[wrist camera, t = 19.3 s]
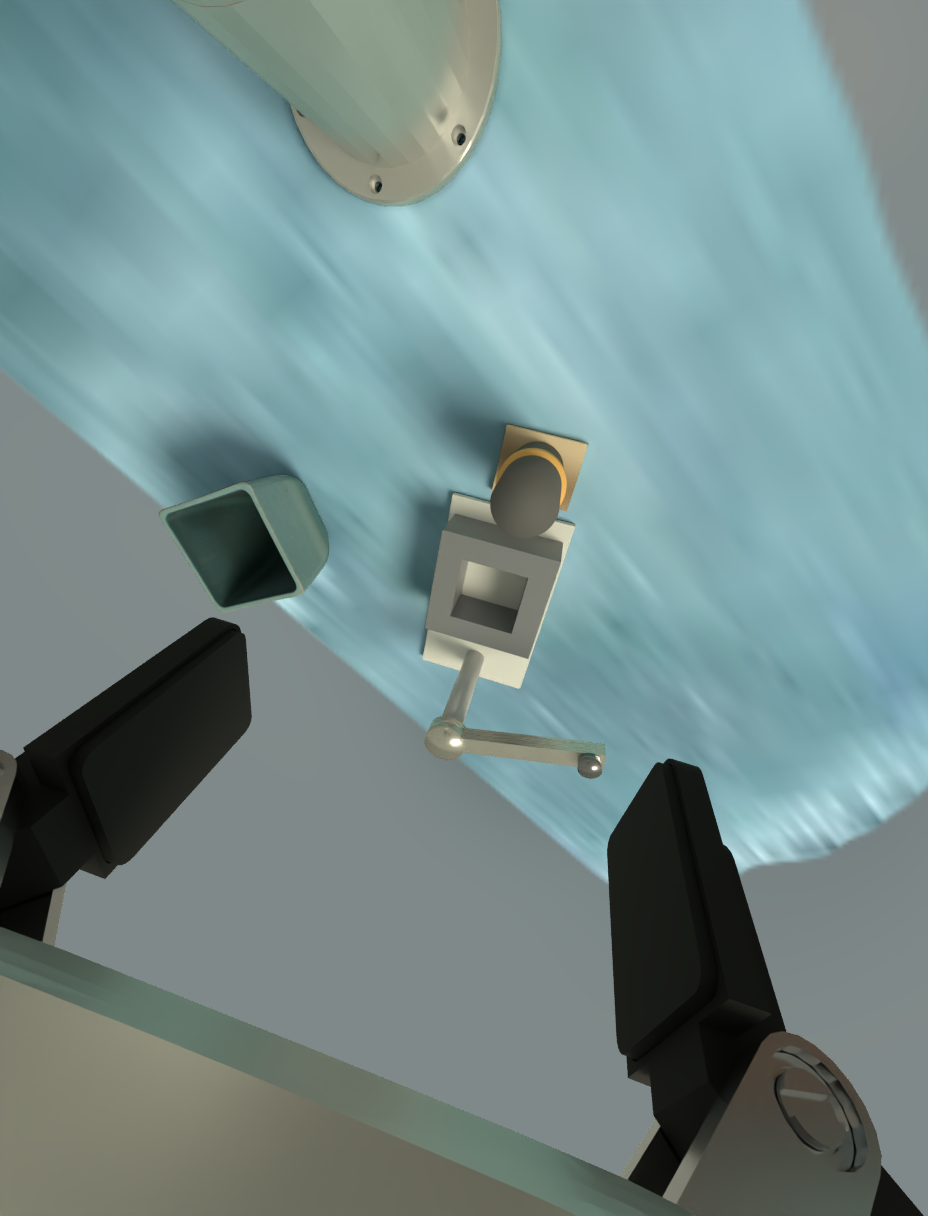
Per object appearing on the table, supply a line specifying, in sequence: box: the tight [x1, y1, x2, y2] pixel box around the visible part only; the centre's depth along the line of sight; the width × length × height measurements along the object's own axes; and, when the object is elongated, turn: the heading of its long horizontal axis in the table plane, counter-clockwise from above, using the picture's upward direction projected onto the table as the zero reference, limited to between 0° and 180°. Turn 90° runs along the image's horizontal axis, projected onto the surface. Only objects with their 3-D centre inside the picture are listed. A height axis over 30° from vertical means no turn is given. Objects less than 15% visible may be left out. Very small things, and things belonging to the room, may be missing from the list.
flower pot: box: [159, 474, 329, 612], centre depth 37 cm, size 9×9×9 cm
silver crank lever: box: [424, 716, 605, 778], centre depth 33 cm, size 13×3×2 cm, turn 94°
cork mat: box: [492, 424, 588, 511], centre depth 34 cm, size 5×6×1 cm
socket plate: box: [423, 492, 575, 723], centre depth 36 cm, size 17×10×10 cm, turn 169°
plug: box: [490, 442, 567, 538], centre depth 30 cm, size 5×5×9 cm
